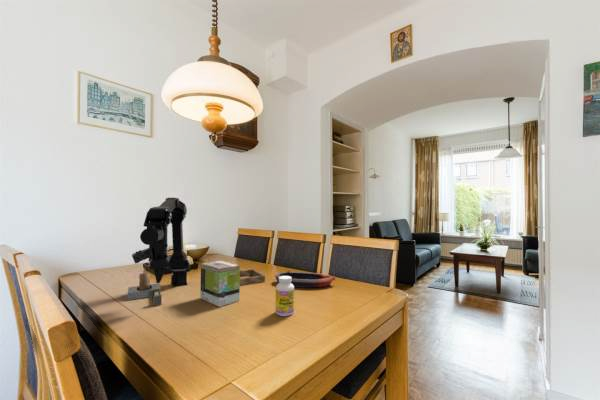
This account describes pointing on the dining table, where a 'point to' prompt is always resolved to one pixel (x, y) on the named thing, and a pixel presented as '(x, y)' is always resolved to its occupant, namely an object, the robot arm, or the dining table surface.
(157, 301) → the lock pin
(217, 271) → the tea box
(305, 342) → the dining table surface
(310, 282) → the dish
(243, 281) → the trivet
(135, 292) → the mount
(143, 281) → the peg
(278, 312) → the supplement bottle
